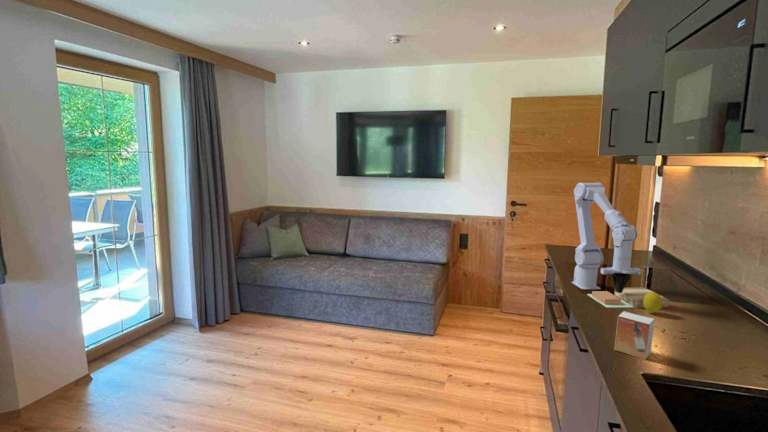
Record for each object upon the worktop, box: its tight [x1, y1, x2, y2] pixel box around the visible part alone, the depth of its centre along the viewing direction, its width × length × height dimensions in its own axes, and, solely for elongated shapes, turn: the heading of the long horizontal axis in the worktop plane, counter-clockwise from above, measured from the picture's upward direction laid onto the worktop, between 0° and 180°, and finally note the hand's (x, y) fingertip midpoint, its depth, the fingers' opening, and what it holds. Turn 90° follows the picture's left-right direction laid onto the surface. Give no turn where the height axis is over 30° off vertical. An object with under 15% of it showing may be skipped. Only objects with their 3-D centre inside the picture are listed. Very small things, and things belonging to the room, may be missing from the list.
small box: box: [613, 310, 656, 360], centre depth 115 cm, size 8×6×10 cm
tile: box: [591, 290, 621, 304], centre depth 156 cm, size 9×6×2 cm, turn 2°
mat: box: [586, 293, 635, 309], centre depth 156 cm, size 14×10×1 cm
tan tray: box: [613, 287, 670, 309], centre depth 156 cm, size 14×12×3 cm
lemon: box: [643, 291, 662, 314], centre depth 144 cm, size 6×6×8 cm
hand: (618, 292), depth 156 cm, fingers closed
